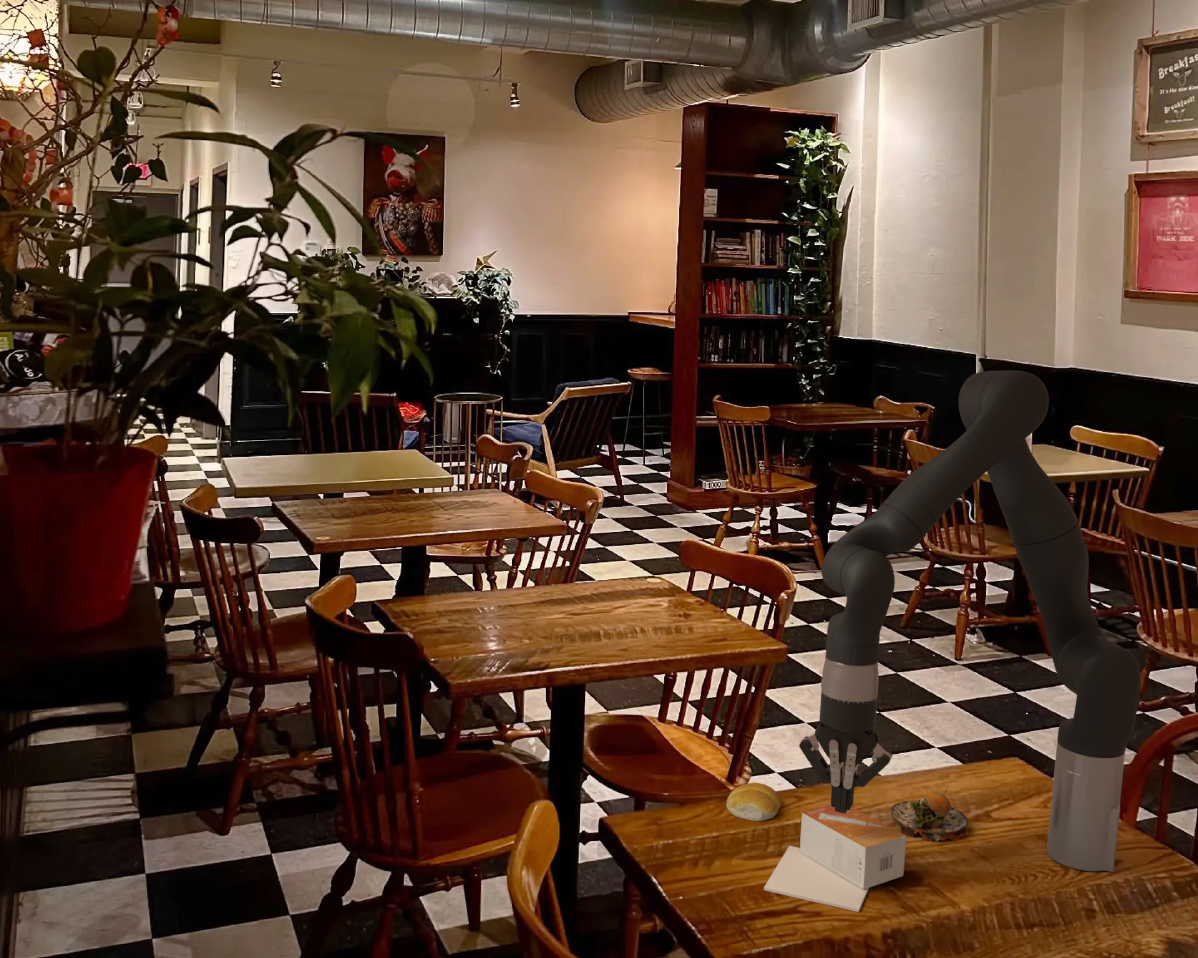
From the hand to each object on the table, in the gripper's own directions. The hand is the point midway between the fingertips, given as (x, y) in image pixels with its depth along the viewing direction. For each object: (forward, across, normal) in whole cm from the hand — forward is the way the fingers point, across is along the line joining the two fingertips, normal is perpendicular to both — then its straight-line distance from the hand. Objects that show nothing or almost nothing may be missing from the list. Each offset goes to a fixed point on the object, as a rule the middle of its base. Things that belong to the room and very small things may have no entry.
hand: (841, 810), depth 165 cm
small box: (+7, -6, -2) cm, 10 cm away
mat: (+10, +2, 0) cm, 11 cm away
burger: (+11, -9, -25) cm, 29 cm away
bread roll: (+11, +17, -18) cm, 27 cm away
